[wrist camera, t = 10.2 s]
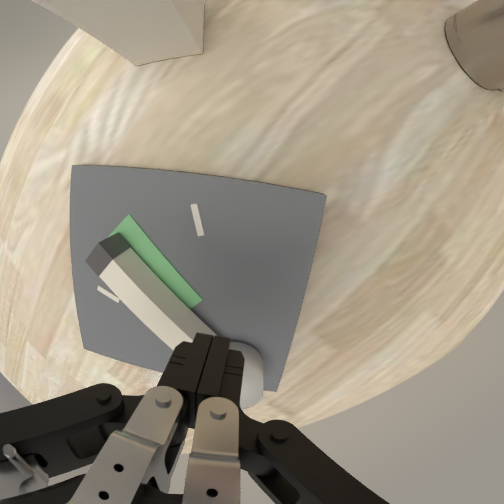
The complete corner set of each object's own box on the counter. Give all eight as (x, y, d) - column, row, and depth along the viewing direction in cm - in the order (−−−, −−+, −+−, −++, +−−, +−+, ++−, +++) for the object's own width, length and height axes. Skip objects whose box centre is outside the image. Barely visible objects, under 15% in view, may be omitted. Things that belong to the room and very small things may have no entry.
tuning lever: (274, 366, 23) (276, 393, 20) (234, 389, 24) (231, 416, 21) (128, 219, 20) (106, 230, 16) (96, 259, 21) (73, 274, 17)
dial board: (322, 193, 21) (327, 195, 19) (276, 381, 26) (276, 393, 25) (81, 164, 20) (70, 165, 19) (90, 341, 26) (83, 349, 24)
